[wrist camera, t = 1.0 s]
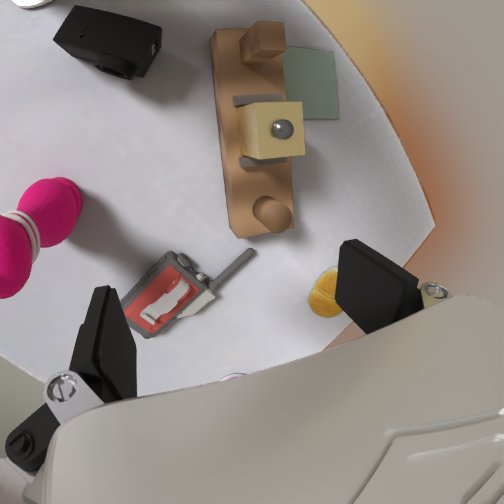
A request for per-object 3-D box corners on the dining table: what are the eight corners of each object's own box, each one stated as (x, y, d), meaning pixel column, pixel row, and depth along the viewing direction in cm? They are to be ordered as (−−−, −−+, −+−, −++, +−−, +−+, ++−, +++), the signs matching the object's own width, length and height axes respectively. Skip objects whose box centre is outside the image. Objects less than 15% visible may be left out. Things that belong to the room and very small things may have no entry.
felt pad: (278, 46, 27) (279, 46, 27) (331, 52, 29) (333, 51, 29) (285, 119, 32) (286, 119, 31) (337, 118, 34) (339, 118, 33)
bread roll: (299, 308, 45) (310, 322, 42) (322, 260, 43) (336, 272, 39) (335, 313, 49) (346, 325, 45) (357, 270, 46) (371, 281, 43)
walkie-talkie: (157, 339, 39) (254, 250, 38) (158, 359, 35) (266, 264, 35) (111, 307, 35) (212, 205, 34) (107, 326, 31) (219, 215, 30)
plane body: (209, 40, 25) (230, 7, 16) (266, 39, 27) (304, 12, 18) (229, 227, 35) (254, 261, 27) (280, 217, 37) (318, 246, 28)
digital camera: (65, 64, 20) (44, 50, 14) (88, 26, 19) (73, 4, 13) (138, 87, 25) (132, 74, 19) (161, 48, 24) (162, 27, 18)
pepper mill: (82, 168, 27) (-8, 219, 9) (90, 226, 30) (31, 332, 12) (32, 178, 24) (-73, 238, 7) (42, 234, 28) (-36, 333, 10)
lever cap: (236, 108, 26) (257, 102, 20) (275, 106, 27) (305, 101, 21) (240, 154, 28) (262, 160, 22) (279, 149, 29) (308, 155, 23)
